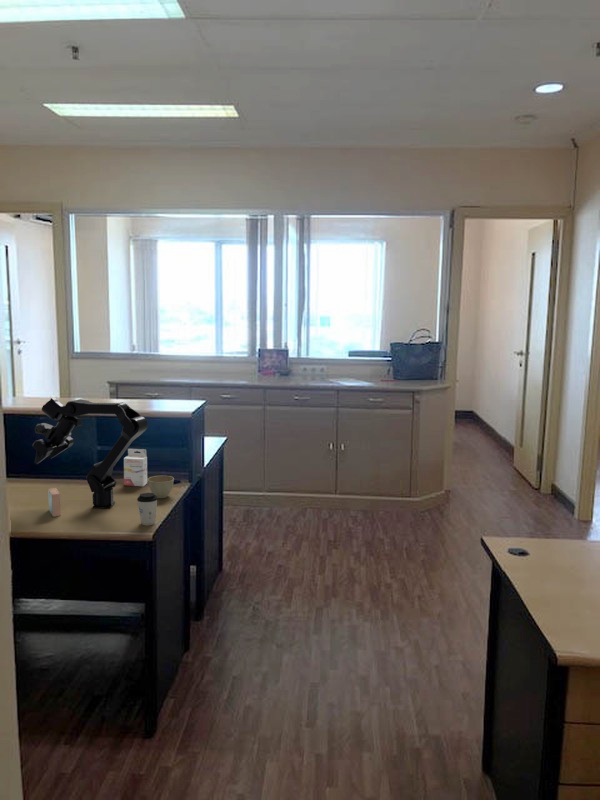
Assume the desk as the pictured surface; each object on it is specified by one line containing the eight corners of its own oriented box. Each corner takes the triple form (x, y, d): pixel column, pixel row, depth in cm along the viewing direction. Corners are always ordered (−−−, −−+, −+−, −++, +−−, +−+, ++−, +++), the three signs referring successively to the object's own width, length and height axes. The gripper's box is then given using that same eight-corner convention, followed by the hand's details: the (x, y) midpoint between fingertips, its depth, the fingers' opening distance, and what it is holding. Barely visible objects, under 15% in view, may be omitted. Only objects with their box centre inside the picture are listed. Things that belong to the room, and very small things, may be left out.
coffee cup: (160, 519, 212) (159, 491, 210) (156, 526, 205) (155, 497, 203) (140, 519, 212) (139, 491, 210) (135, 526, 205) (134, 497, 203)
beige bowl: (171, 500, 233) (171, 482, 232) (145, 500, 233) (144, 482, 232) (176, 492, 243) (176, 475, 242) (151, 492, 243) (151, 475, 242)
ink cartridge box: (123, 485, 252) (122, 451, 249) (128, 482, 256) (127, 448, 254) (143, 486, 251) (143, 451, 249) (148, 483, 256) (147, 449, 253)
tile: (56, 509, 221) (55, 487, 220) (60, 515, 215) (59, 493, 213) (48, 510, 220) (47, 488, 219) (52, 516, 213) (51, 494, 212)
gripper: (60, 411, 235) (41, 442, 238) (31, 419, 217) (10, 452, 220) (83, 429, 235) (62, 460, 238) (55, 438, 216) (34, 471, 220)
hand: (42, 460), depth 229 cm, fingers open, 9 cm apart
